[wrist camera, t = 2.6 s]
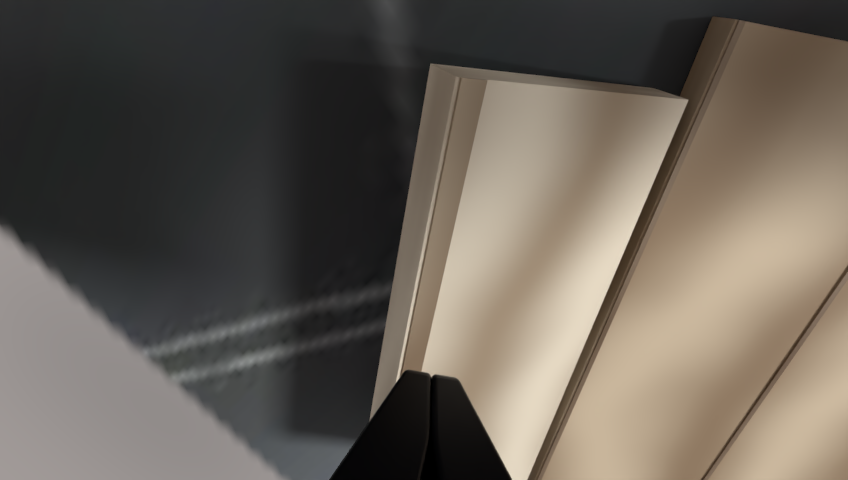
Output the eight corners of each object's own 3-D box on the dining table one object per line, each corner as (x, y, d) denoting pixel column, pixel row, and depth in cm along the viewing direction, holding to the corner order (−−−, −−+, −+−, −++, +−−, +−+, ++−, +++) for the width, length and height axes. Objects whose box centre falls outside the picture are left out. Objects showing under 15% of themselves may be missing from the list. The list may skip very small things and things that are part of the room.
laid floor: (1170, 107, 13) (1236, 118, 12) (789, 533, 23) (806, 562, 22) (712, 16, 13) (736, 20, 12) (516, 488, 22) (520, 515, 21)
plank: (653, 87, 14) (690, 100, 13) (508, 461, 21) (525, 487, 20) (430, 63, 11) (457, 77, 10) (354, 511, 18) (364, 545, 17)
